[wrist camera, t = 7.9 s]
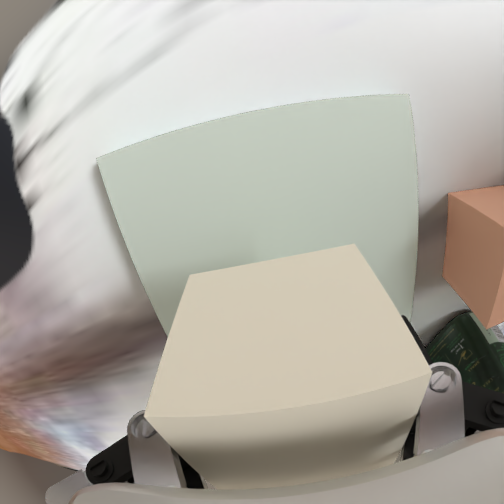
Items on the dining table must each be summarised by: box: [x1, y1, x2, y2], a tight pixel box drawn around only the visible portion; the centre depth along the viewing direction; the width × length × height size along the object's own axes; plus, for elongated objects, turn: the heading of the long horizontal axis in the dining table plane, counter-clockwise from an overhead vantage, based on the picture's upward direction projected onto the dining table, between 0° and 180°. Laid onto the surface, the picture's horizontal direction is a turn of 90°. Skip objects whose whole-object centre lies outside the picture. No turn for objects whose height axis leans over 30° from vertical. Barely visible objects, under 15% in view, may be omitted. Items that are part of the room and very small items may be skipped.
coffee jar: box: [426, 311, 504, 394], centre depth 13 cm, size 10×8×19 cm
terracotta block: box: [442, 185, 504, 329], centre depth 13 cm, size 6×6×6 cm
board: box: [96, 94, 419, 337], centre depth 16 cm, size 16×16×1 cm
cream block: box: [144, 244, 432, 490], centre depth 9 cm, size 6×6×6 cm
